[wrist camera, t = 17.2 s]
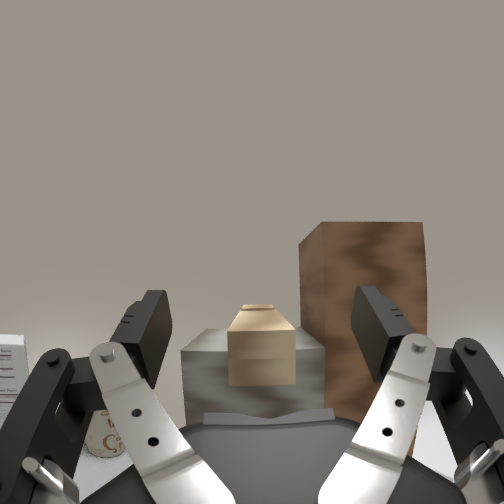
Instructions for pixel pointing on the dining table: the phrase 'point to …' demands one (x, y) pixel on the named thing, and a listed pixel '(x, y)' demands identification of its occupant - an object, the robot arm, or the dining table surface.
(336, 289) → the step shelf
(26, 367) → the supplement box
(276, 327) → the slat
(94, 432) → the mug
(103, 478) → the dining table surface
